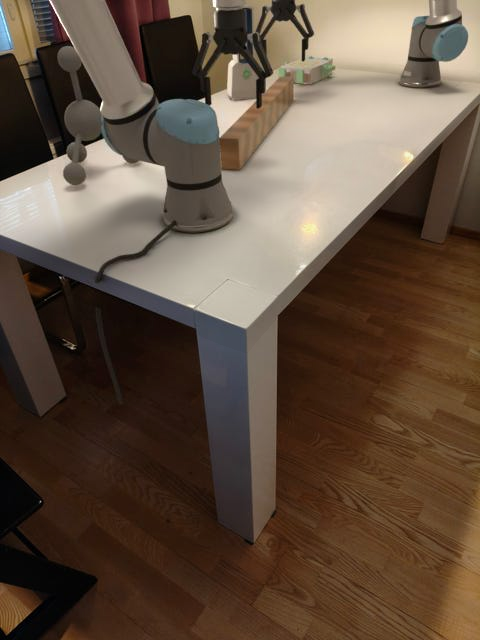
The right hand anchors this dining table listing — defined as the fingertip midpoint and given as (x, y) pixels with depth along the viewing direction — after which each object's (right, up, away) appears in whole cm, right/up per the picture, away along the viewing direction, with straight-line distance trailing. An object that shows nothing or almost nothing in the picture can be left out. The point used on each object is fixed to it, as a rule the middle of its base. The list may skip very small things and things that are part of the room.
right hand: (283, 61), depth 169 cm
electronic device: (-13, -3, +20) cm, 24 cm away
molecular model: (-53, -48, -35) cm, 80 cm away
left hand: (-17, -35, -44) cm, 59 cm away
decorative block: (+13, +13, +39) cm, 44 cm away
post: (-8, -29, -13) cm, 32 cm away
